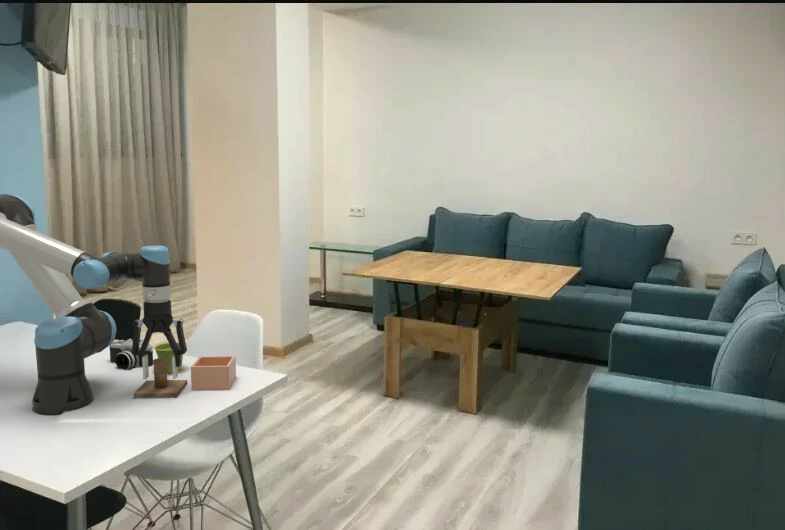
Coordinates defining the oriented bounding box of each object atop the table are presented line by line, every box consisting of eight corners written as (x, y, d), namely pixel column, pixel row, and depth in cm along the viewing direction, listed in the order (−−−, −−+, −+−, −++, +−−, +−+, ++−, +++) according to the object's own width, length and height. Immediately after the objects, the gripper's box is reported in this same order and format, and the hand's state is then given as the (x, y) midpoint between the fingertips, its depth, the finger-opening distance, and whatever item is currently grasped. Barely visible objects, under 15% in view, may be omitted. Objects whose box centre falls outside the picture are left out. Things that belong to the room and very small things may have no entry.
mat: (133, 398, 190) (133, 396, 190) (146, 384, 202) (146, 383, 202) (177, 397, 191) (176, 396, 191) (187, 384, 203) (187, 383, 202)
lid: (133, 397, 190) (131, 366, 189) (146, 383, 202) (145, 354, 201) (176, 396, 191) (175, 365, 189) (187, 383, 202) (186, 353, 201)
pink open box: (191, 390, 197) (190, 366, 196) (200, 378, 208) (199, 356, 207) (229, 389, 198) (228, 366, 197) (236, 378, 209) (235, 356, 208)
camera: (98, 369, 218) (96, 339, 216) (116, 362, 226) (114, 333, 224) (140, 374, 213) (138, 343, 212) (157, 366, 221) (155, 336, 220)
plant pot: (177, 378, 209) (176, 350, 207) (149, 376, 210) (148, 349, 209) (192, 369, 218) (191, 343, 216) (165, 367, 219) (164, 341, 218)
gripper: (115, 303, 188) (120, 382, 191) (190, 302, 189) (193, 381, 193) (124, 298, 196) (128, 374, 199) (196, 297, 197) (199, 373, 200)
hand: (160, 377), depth 196 cm, fingers open, 8 cm apart
